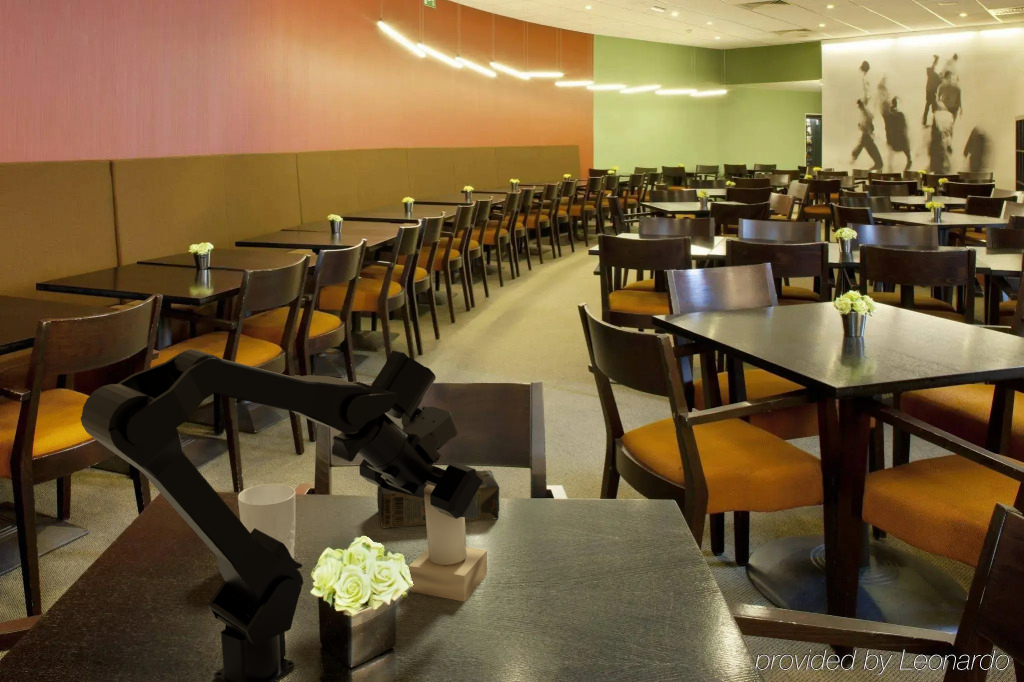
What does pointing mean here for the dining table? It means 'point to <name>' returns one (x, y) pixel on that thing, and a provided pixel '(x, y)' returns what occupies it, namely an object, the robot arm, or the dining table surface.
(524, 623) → the dining table surface
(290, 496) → the white cup
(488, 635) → the dining table surface
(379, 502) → the beverage carton
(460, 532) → the jar
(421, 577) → the maple block
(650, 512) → the dining table surface
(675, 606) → the dining table surface
